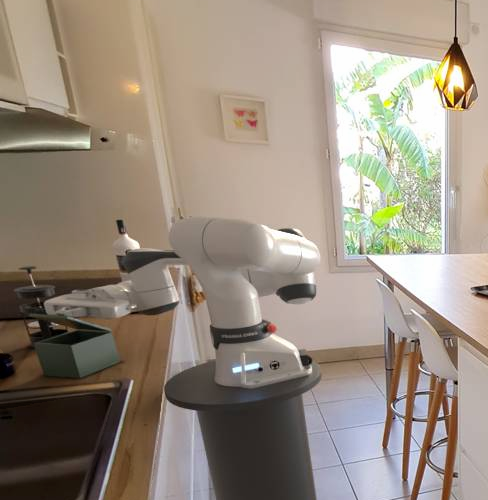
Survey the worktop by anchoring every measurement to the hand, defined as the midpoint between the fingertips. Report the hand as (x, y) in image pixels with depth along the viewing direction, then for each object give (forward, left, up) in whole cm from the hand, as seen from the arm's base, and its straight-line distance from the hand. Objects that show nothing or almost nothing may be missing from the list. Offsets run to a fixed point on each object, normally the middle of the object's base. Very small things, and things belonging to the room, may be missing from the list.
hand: (60, 315), depth 139 cm
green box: (-1, -1, -15) cm, 15 cm away
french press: (+8, -30, -15) cm, 35 cm away
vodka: (-14, -89, -15) cm, 91 cm away
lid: (-1, -2, -3) cm, 4 cm away
